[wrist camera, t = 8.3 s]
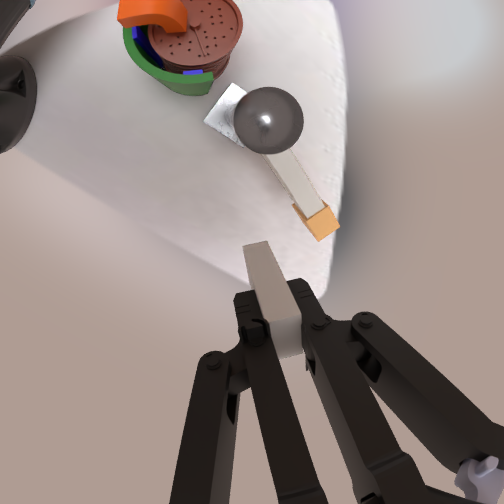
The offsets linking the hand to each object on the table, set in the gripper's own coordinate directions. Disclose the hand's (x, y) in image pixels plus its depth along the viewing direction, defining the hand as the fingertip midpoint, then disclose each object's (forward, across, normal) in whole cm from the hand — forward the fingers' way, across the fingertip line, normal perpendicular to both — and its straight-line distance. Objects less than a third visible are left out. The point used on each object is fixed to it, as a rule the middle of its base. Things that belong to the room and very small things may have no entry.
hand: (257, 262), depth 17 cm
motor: (+22, -2, +16) cm, 27 cm away
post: (+21, +3, +8) cm, 23 cm away
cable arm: (+12, +6, +1) cm, 14 cm away
